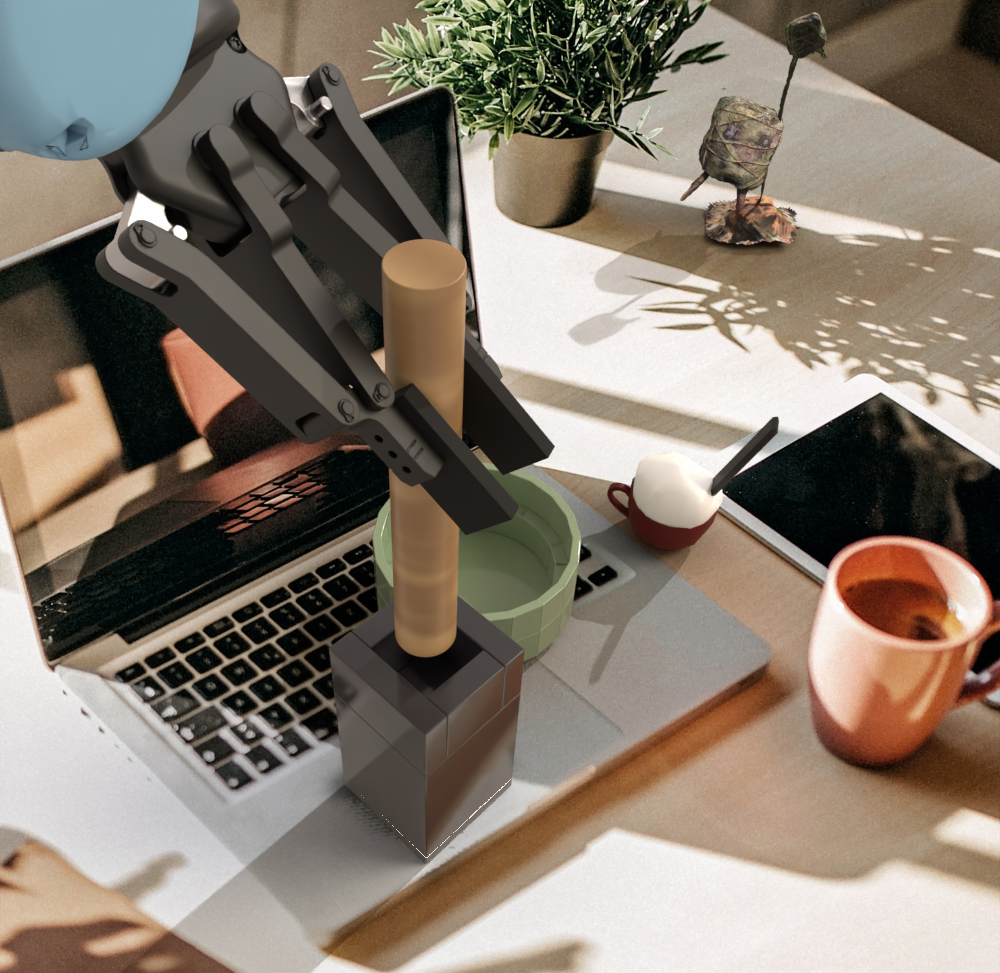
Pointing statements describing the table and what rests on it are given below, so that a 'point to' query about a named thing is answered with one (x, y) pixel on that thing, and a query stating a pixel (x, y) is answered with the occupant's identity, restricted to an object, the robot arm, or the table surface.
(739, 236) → the bird figurine
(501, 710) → the box
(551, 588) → the bowl
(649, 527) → the cocoa
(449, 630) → the stirring stick
